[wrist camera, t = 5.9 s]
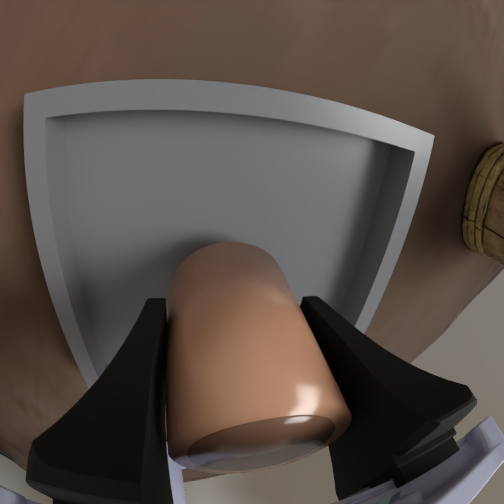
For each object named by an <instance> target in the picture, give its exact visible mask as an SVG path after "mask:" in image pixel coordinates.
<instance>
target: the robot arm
mask: <svg viewBox="0 0 504 504" xmlns="http://www.w3.org/2000/svg"><path fill="white" fill-rule="evenodd" d="M300 308H301V310H302V312H303V314H304V316H305V318H306V320H307V323H308V325H309V327H310V329H311V331H312V333H313V335H314V337H315V339H316V341H317V343H318V345H319V347H320V349H321V351H322V354H323V356H324V358H325V360H326V362H327V364H328V366H329V368H330V370H331V372H332V375H333V377H334V379H335V381H336V383H337V385H338V387H339V389H340V392H341V394H342V396H343V398H344V400H345V402H346V404H347V406H348V409H349V411H350V413H351V415H352V420H351V423H350V425H349V427H348V428H347V429H346V431H345V432H344V433H343V434H342V435H341V436H340V437H339V438H338V439H336V440H335V441H334V442H332V443H331V444H329V445H328V446H329V451H330V456H331V461H332V467H333V473H334V480H335V489H336V494H337V496H338V500H339V501H338V502H335V503H332V504H375V503H378V502H380V501H382V500H384V499H386V498H388V497H390V496H392V495H393V496H392V497H391V499H390V502H389V503H388V504H469V503H470V502H471V501H472V500H473V499H474V497H475V496H476V495H477V494H478V493H479V491H480V490H481V489H482V488H483V487H484V485H485V484H486V483H487V481H488V480H489V479H490V478H491V476H492V475H493V474H494V472H495V471H496V470H497V469H498V468H499V467H500V465H501V464H502V463H503V462H504V436H503V434H502V433H501V431H500V429H499V428H498V426H497V424H496V423H495V421H494V419H493V418H492V416H488V417H487V418H485V419H484V420H483V421H482V422H480V423H479V424H478V425H477V426H476V427H474V428H473V429H472V430H471V431H470V432H468V433H467V434H466V435H465V436H464V437H463V438H462V439H460V440H459V441H457V442H455V440H454V439H453V436H454V435H456V431H455V429H454V428H453V427H454V426H455V425H457V424H458V423H459V422H460V421H461V420H462V419H463V418H464V417H465V416H466V415H467V414H468V413H469V412H470V411H471V410H472V409H473V408H474V407H475V406H476V404H477V399H476V398H475V396H474V395H473V393H472V392H471V390H470V389H469V388H468V386H466V385H463V384H459V383H456V382H453V381H449V380H446V379H443V378H441V377H438V376H435V375H433V374H430V373H428V372H426V371H424V370H421V369H419V368H417V367H415V366H413V365H411V364H409V363H407V362H405V361H404V360H402V359H400V358H398V357H397V356H395V355H393V354H392V353H390V352H389V351H387V350H385V349H384V348H382V347H381V346H379V345H378V344H377V343H375V342H374V341H373V340H371V339H370V338H368V337H367V336H366V335H364V334H363V333H362V332H361V331H359V330H358V329H357V328H356V327H354V326H353V325H352V324H351V323H349V322H348V321H347V320H346V319H345V318H343V317H342V316H341V315H340V314H339V313H337V312H336V311H335V310H334V309H333V308H332V307H330V306H329V305H328V304H327V303H326V302H324V301H323V300H322V299H321V298H319V297H318V296H303V298H302V301H301V304H300ZM166 348H167V310H166V298H148V299H147V300H146V302H145V304H144V306H143V309H142V311H141V313H140V315H139V317H138V318H137V320H136V322H135V324H134V326H133V328H132V329H131V331H130V333H129V334H128V336H127V338H126V339H125V341H124V343H123V344H122V346H121V347H120V349H119V350H118V352H117V353H116V355H115V356H114V358H113V359H112V361H111V362H110V364H109V365H108V366H107V368H106V369H105V370H104V372H103V373H102V374H101V375H100V377H99V378H98V379H97V380H96V382H95V383H94V384H93V385H92V386H91V387H90V389H89V390H88V391H87V392H86V393H85V394H84V395H83V397H82V398H81V399H80V400H79V401H78V402H77V403H76V404H75V405H74V406H73V407H72V408H71V409H70V410H69V411H68V412H67V413H66V414H64V415H63V416H62V417H61V418H60V419H59V420H58V421H57V422H56V423H55V424H53V425H52V426H51V427H50V428H48V429H47V430H46V431H45V432H43V433H42V434H41V435H40V436H39V437H37V438H36V439H35V440H33V442H32V446H31V449H30V452H29V457H28V464H27V472H26V482H27V484H28V485H29V486H31V487H32V488H34V489H35V490H37V491H39V492H41V493H43V494H45V495H47V496H49V497H50V498H52V499H53V504H186V501H185V494H184V486H183V477H182V469H185V468H186V467H183V466H181V465H179V464H177V463H176V462H174V461H173V460H172V459H171V458H170V457H169V455H168V446H167V442H166V430H165V407H166ZM369 489H370V490H369ZM364 491H365V492H364ZM359 493H360V494H359ZM343 499H344V500H343ZM340 500H341V501H340ZM0 504H40V503H37V502H34V501H31V500H29V499H26V498H25V497H24V496H22V495H20V494H18V493H15V492H14V491H11V490H9V489H7V488H5V487H3V486H1V485H0Z"/></svg>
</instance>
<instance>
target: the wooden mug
mask: <svg viewBox="0 0 504 504" xmlns="http://www.w3.org/2000/svg"><path fill="white" fill-rule="evenodd" d="M462 227H463V239H464V241H465V243H466V245H467V246H468V247H469V248H470V249H471V250H473V251H475V252H477V253H479V254H480V255H482V256H484V257H486V258H493V259H495V260H496V261H498V262H500V263H501V264H503V265H504V144H500V145H497V146H494V147H491V148H490V149H489V150H488V151H487V152H485V153H484V154H483V156H482V158H481V160H480V162H479V164H478V166H477V168H476V169H475V171H474V173H473V176H472V178H471V181H470V183H469V186H468V190H467V193H466V198H465V204H464V211H463V224H462Z"/></svg>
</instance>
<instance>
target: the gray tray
mask: <svg viewBox="0 0 504 504" xmlns="http://www.w3.org/2000/svg"><path fill="white" fill-rule="evenodd" d="M23 132H24V160H25V173H26V183H27V192H28V200H29V207H30V213H31V219H32V224H33V230H34V235H35V240H36V244H37V249H38V253H39V257H40V261H41V265H42V269H43V273H44V276H45V280H46V283H47V287H48V290H49V293H50V296H51V299H52V302H53V305H54V308H55V311H56V314H57V317H58V320H59V322H60V325H61V328H62V330H63V333H64V335H65V338H66V340H67V343H68V345H69V347H70V350H71V352H72V354H73V357H74V359H75V361H76V363H77V365H78V367H79V370H80V372H81V374H82V376H83V378H84V380H85V382H86V384H87V386H88V388H89V389H90V387H91V386H92V385H93V384H94V383H95V382H96V380H97V379H98V378H99V377H100V375H101V374H102V373H103V372H104V370H105V369H106V368H107V366H108V365H109V364H110V362H111V361H112V359H113V358H114V356H115V355H116V353H117V352H118V350H119V349H120V347H121V346H122V344H123V343H124V341H125V339H126V338H127V336H128V334H129V333H130V331H131V329H132V328H133V326H134V324H135V322H136V320H137V318H138V317H139V315H140V313H141V311H142V309H143V306H144V304H145V302H146V300H147V299H148V298H166V310H167V322H168V304H169V289H170V283H171V279H172V277H173V274H174V272H175V271H176V269H177V267H178V266H179V265H180V264H181V262H182V261H183V260H185V259H186V258H187V257H188V256H189V255H191V254H192V253H193V252H195V251H197V250H199V249H201V248H203V247H206V246H208V245H212V244H216V243H221V242H243V243H247V244H251V245H254V246H257V247H259V248H261V249H263V250H265V251H266V252H267V253H269V254H270V255H271V256H272V257H273V258H274V259H275V260H276V261H277V263H278V264H279V266H280V268H281V270H282V272H283V274H284V276H285V278H286V280H287V282H288V284H289V286H290V288H291V290H292V292H293V294H294V296H295V298H296V300H297V302H298V304H299V306H300V304H301V301H302V298H303V296H318V297H319V298H321V299H322V300H323V301H324V302H326V303H327V304H328V305H329V306H330V307H332V308H333V309H334V310H335V311H336V312H337V313H339V314H340V315H341V316H342V317H343V318H345V319H346V320H347V321H348V322H349V323H351V324H352V325H353V326H354V327H356V328H357V329H358V330H359V331H361V332H362V333H363V334H365V332H366V330H367V328H368V326H369V324H370V321H371V319H372V317H373V315H374V313H375V311H376V309H377V307H378V305H379V302H380V300H381V298H382V296H383V293H384V291H385V289H386V287H387V284H388V282H389V280H390V277H391V275H392V272H393V270H394V267H395V265H396V262H397V260H398V257H399V255H400V252H401V249H402V247H403V244H404V241H405V239H406V236H407V233H408V230H409V227H410V224H411V221H412V218H413V215H414V212H415V209H416V206H417V202H418V199H419V196H420V192H421V189H422V185H423V182H424V178H425V174H426V171H427V167H428V163H429V159H430V154H431V150H432V146H433V141H434V136H433V135H431V134H429V133H426V132H424V131H422V130H419V129H417V128H414V127H412V126H409V125H406V124H404V123H401V122H398V121H396V120H393V119H390V118H387V117H384V116H381V115H378V114H375V113H372V112H369V111H366V110H363V109H359V108H356V107H352V106H349V105H345V104H342V103H338V102H334V101H330V100H326V99H322V98H318V97H313V96H309V95H304V94H299V93H294V92H289V91H284V90H278V89H272V88H266V87H259V86H252V85H244V84H236V83H226V82H215V81H201V80H179V79H140V80H119V81H106V82H95V83H86V84H78V85H71V86H64V87H58V88H52V89H47V90H42V91H37V92H32V93H28V94H25V95H24V122H23Z"/></svg>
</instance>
